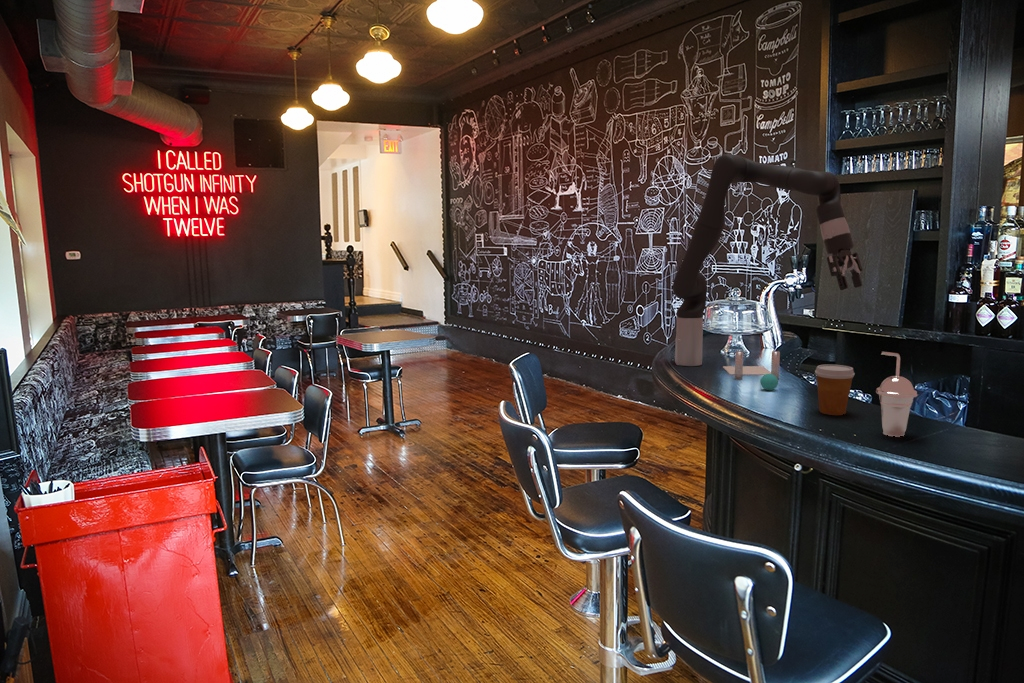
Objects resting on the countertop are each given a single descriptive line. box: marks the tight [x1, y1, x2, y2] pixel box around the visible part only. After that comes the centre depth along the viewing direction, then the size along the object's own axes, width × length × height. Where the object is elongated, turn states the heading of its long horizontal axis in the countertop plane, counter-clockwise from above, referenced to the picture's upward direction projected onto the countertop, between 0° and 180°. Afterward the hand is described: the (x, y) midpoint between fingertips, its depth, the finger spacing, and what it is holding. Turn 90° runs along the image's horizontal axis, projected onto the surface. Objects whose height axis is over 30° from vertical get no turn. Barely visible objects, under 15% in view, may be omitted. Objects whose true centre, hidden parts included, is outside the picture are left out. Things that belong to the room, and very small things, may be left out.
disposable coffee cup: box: [814, 364, 856, 416], centre depth 184 cm, size 10×10×12 cm
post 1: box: [734, 350, 744, 381], centre depth 228 cm, size 2×2×9 cm
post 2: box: [770, 350, 781, 381], centre depth 226 cm, size 2×2×9 cm
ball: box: [759, 374, 779, 391], centre depth 212 cm, size 5×5×5 cm
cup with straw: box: [875, 350, 918, 438], centre depth 163 cm, size 8×9×20 cm
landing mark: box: [722, 365, 771, 376], centre depth 241 cm, size 14×14×1 cm
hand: (851, 288), depth 208 cm, fingers open, 8 cm apart
